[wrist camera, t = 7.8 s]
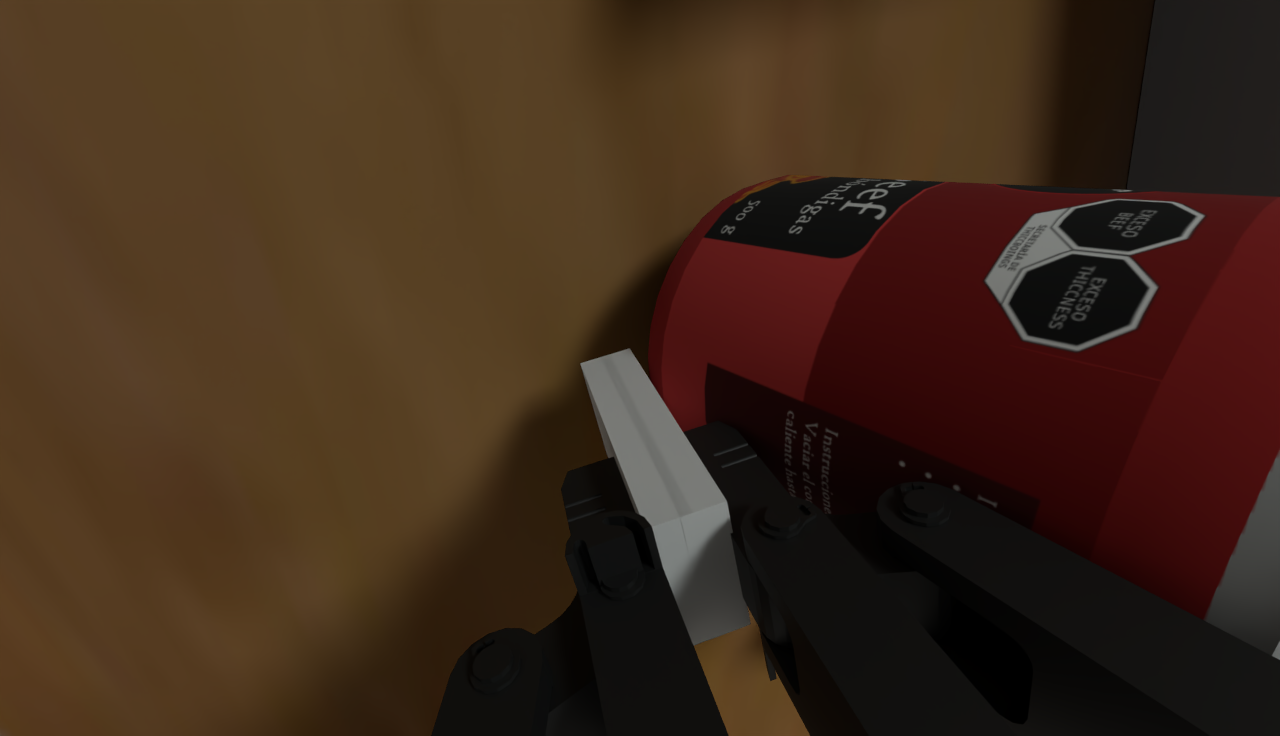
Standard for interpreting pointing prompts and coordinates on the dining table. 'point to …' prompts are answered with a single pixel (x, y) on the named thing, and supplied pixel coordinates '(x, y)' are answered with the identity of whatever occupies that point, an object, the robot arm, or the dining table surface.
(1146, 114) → the box
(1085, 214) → the canned food
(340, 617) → the dining table surface
